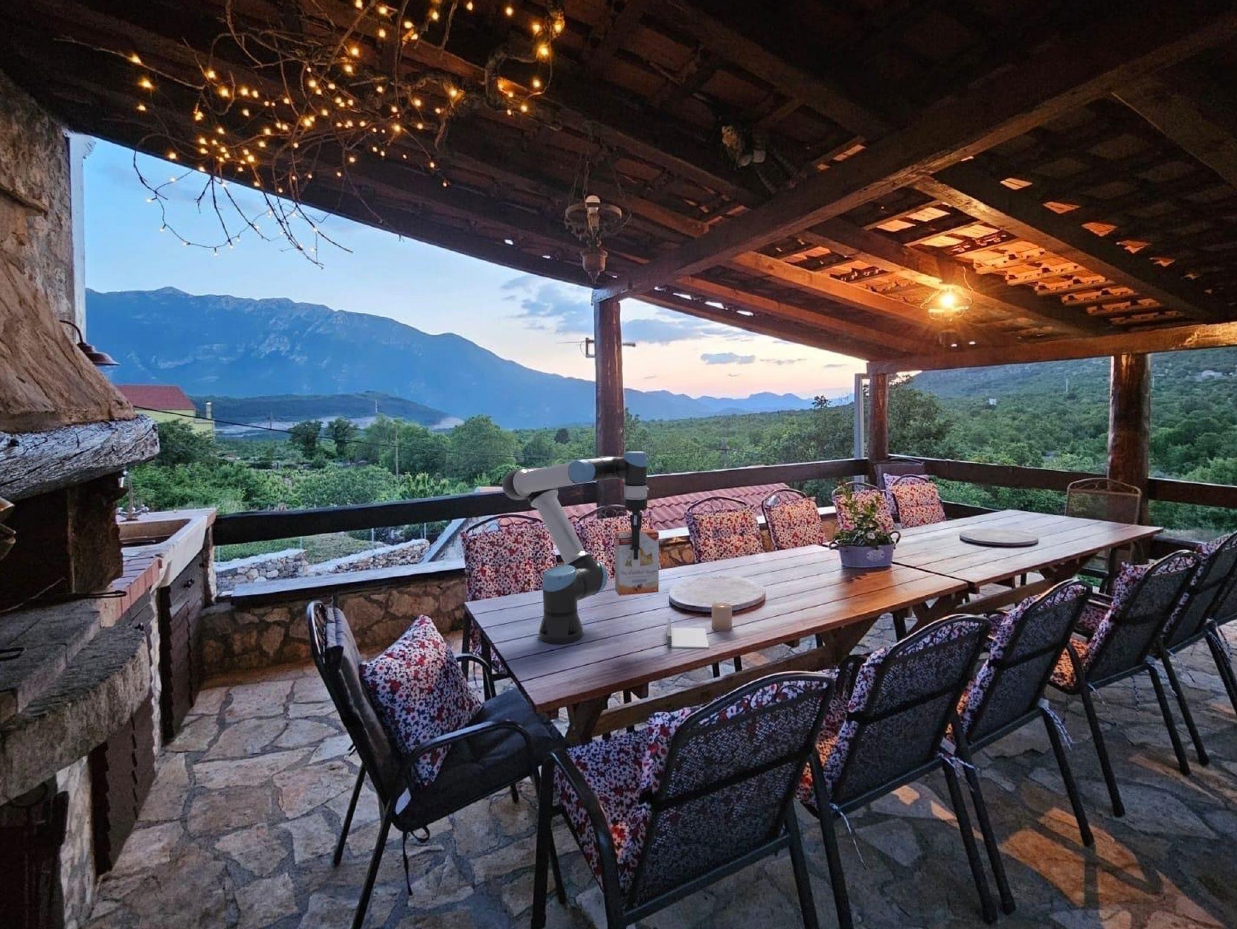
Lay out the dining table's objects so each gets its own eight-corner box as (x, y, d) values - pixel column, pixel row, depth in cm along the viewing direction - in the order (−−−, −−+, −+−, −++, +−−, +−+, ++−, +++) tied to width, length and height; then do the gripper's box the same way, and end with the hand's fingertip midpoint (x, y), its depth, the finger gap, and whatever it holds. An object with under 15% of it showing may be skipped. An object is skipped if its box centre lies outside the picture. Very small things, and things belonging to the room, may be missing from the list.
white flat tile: (667, 647, 179) (667, 635, 179) (667, 629, 195) (667, 618, 195) (708, 648, 178) (708, 636, 178) (705, 629, 194) (705, 618, 194)
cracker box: (619, 596, 181) (618, 533, 180) (614, 591, 187) (613, 530, 185) (659, 593, 185) (659, 531, 183) (654, 587, 190) (653, 528, 189)
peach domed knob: (712, 631, 192) (712, 609, 192) (711, 624, 199) (710, 602, 199) (733, 631, 192) (733, 609, 191) (730, 624, 199) (730, 602, 198)
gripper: (646, 502, 173) (646, 574, 175) (648, 493, 193) (648, 558, 195) (622, 502, 174) (623, 573, 176) (626, 493, 194) (627, 557, 195)
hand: (636, 565), depth 185 cm, fingers closed on cracker box, 7 cm apart
